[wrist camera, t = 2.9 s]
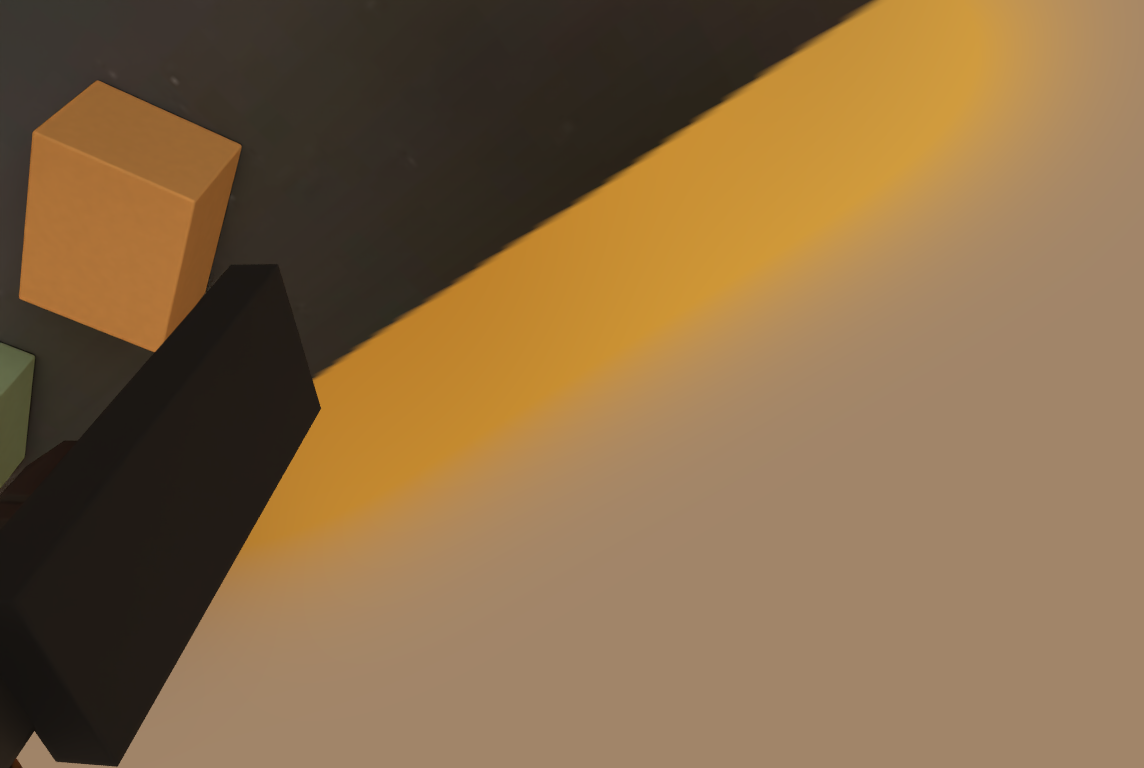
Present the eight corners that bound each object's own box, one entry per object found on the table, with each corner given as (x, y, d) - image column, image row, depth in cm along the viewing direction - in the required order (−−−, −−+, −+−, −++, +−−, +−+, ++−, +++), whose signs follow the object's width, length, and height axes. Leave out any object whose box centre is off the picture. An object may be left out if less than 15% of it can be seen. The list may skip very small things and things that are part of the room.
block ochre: (205, 292, 36) (160, 356, 33) (76, 238, 35) (17, 299, 32) (243, 144, 32) (195, 202, 29) (96, 78, 31) (31, 130, 28)
